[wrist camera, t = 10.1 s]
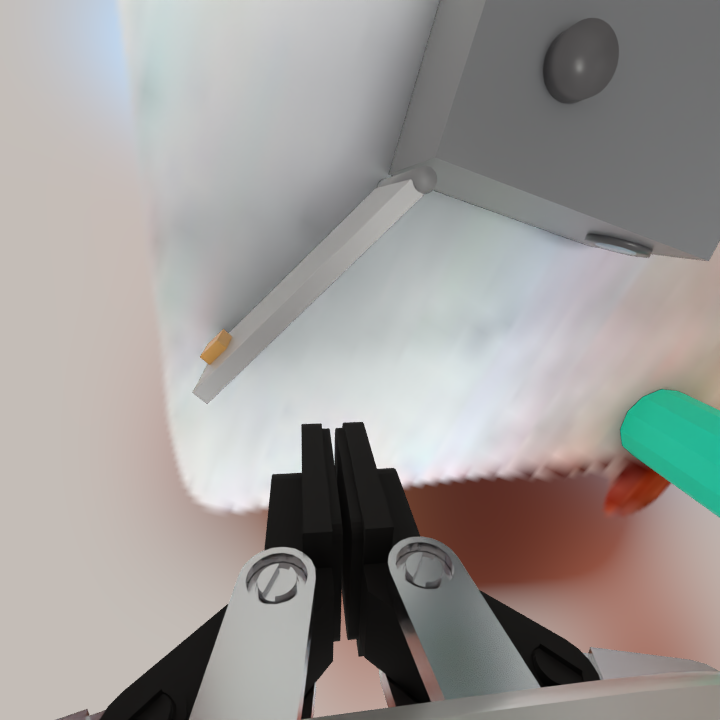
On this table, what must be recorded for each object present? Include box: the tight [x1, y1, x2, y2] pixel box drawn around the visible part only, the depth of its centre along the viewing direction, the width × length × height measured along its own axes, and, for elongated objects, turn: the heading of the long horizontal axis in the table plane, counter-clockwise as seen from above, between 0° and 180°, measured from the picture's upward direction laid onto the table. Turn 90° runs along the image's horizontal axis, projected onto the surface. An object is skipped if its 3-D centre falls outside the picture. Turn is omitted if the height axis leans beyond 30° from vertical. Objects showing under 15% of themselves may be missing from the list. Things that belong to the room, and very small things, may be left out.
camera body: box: [389, 0, 720, 261], centre depth 19 cm, size 14×9×9 cm, turn 73°
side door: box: [192, 166, 437, 404], centre depth 20 cm, size 14×2×7 cm, turn 133°
